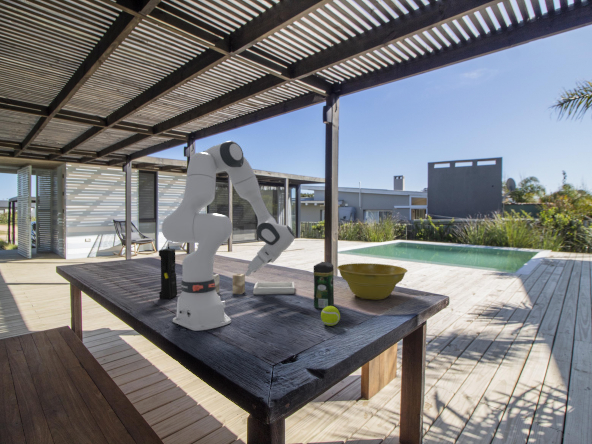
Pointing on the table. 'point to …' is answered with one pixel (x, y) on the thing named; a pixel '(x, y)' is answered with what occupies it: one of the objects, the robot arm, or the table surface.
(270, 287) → the tray
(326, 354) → the table surface
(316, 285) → the coffee jar
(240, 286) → the block
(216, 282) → the block
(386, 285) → the planter bowl
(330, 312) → the tennis ball
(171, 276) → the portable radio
